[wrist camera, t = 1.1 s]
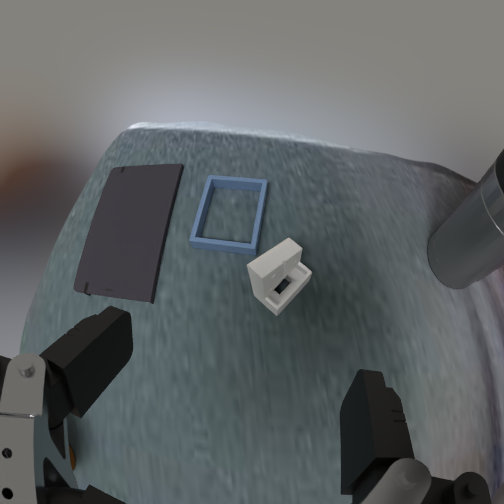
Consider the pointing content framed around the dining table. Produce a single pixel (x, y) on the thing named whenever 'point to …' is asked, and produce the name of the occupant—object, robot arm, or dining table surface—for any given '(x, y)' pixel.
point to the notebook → (129, 233)
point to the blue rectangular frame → (203, 208)
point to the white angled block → (278, 275)
